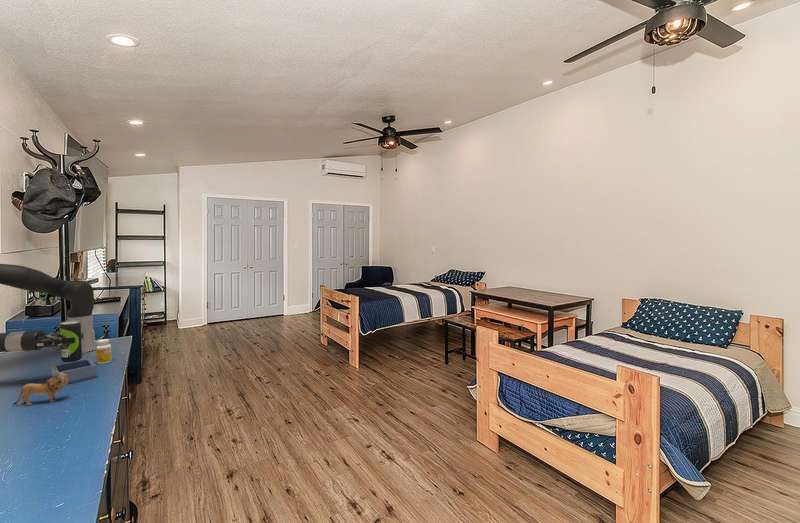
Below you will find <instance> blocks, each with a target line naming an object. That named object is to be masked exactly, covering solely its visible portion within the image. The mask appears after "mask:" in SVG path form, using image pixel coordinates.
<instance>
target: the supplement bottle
mask: <svg viewBox="0 0 800 523" xmlns="http://www.w3.org/2000/svg"><path fill="white" fill-rule="evenodd" d="M95 347H96V350H95V354H96V355H95V356H96V363H97V364H99V365H102V364H104V363H105V364H108V363H111V362H112V361H113V354H112V352H113V351H112V345H111V343H110V339H108V338H104V339H103V338H101V339H100V340H99V339H98V340H97V346H95ZM105 364H104V365H105Z"/></svg>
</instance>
